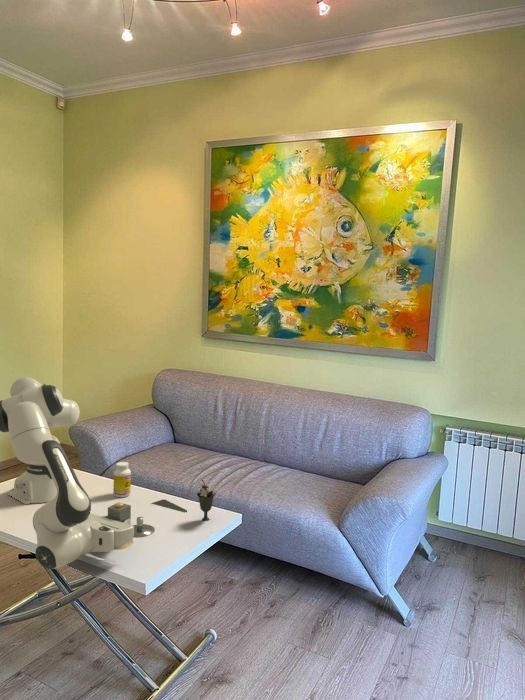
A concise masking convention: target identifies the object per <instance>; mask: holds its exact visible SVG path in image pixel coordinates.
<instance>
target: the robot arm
mask: <svg viewBox="0 0 525 700" xmlns="http://www.w3.org/2000/svg"><path fill="white" fill-rule="evenodd" d="M9 389H10V390H9V391H10V392H9V393H10V396H9V397H8V398H6V399H3V400H2V399H1V400H0V432H2V433H9V438H10V443H11V447H12V450H13V453H14V455H15V457H16V458H17V460H18V461H20V462H22V463H23V464H24V466H26V470H25V471H24V472H23V473H21V474H20V475H19V476H17V478H15V479H14V484H13V488H11V489H10V490H8V491H7V494H8V495H7V494H6V495H7V496H9V495H10V497H11V496H12V497H11V498H12V499H14V498H15V500H16V499H17V500H16V501H18V500H19V501H18V502H20V501H21V502H20V503H22V504H24V505H30V503H31V504H42V503H44V504H43V505H42V506H41V507H39V508H38V509H36V511H35V513H34V514H33V516H32V526H33V529H34V531H35V533H36V547H35V551H34V554H35V558H36V560H37V562H38V564H40V566H41V567H43V568H44V569H48V570H56V569H59V568H62V567H64V566H66V565H69V564H70V563H73V562H74V561H76V560H77V559H78V558H79V557H81V556H84V555H85V556H86V555H87V554H89V553H111V552H113V551H114V550H115V549H114V547H119V546H121V545H123V544H125V543H127V542H128V541H130V540H131V539H134V538H135V537H134V526H133V525H132V524H131V525H130V523H132V521H131V519H132V518H131V519H128V518H126V519H124V520H123V522H124V523H123V522H119V521H115V520H112V519H109V518H108V514H104V515H98V514H95V513H91V511H92V503H91V499H90V496H89V495H88V493H87V492H86V490H85V489H84V487H83V485H81V483H80V480H79V479H78V477H77V475H76V472H75V470H74V468H73V466H72V464H71V461H70V459H69V457H68V455H67V453H66V451H65V450H64V447H63V446H62V445H61V442H60V440H59V438H57V437H56V436H55V435H53V434H52V433H51V430H50V428H62V427H63V428H64V427H69V426H73V425H75V424H76V423H77V422H78V420H79V418H80V414H81V410H80V407H79V405H78V403H77V402H76V401H75V400H73V399H67V398H64V397H63V395H62V392H60V390H59V389H58V388H57V386H56V385H55V386H54V385H51V384H45V383H43V384H42V383H41V382H40V381H38V380H37V379H34V378H33V377H27V376H26V377H19V378H18V379H16V380H14V381H13V383H12V384H11V385H10V388H9Z"/></svg>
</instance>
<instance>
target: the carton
mask: <svg viewBox="0 0 525 700" xmlns="http://www.w3.org/2000/svg"><path fill="white" fill-rule="evenodd" d="M131 508H132V506H131V504H127V503H123V502H121V501H118V502H116V503H114V504H112V505H111V506H108V507H107V515H108V518H109V519H112V520H115V521H119V522H123V520H124V519H126V518H128V519H132V518H131V511H132V509H131ZM123 523H124V522H123ZM131 523H132V522H131ZM131 523H130V525H132V524H131Z"/></svg>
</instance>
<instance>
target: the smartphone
mask: <svg viewBox="0 0 525 700" xmlns="http://www.w3.org/2000/svg"><path fill="white" fill-rule="evenodd" d="M150 505H155V506H159V507H162V508H166V509H170V510H174V511H178V512H180V513H185V512H186V513H188V512H187V511H188V509H186V508H183V507H182V506H179V505H177V504H175V503H173V502H171V501H169V500H167V499H160V500H158V501H157V500H156V501H153V502H151V503H150Z"/></svg>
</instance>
